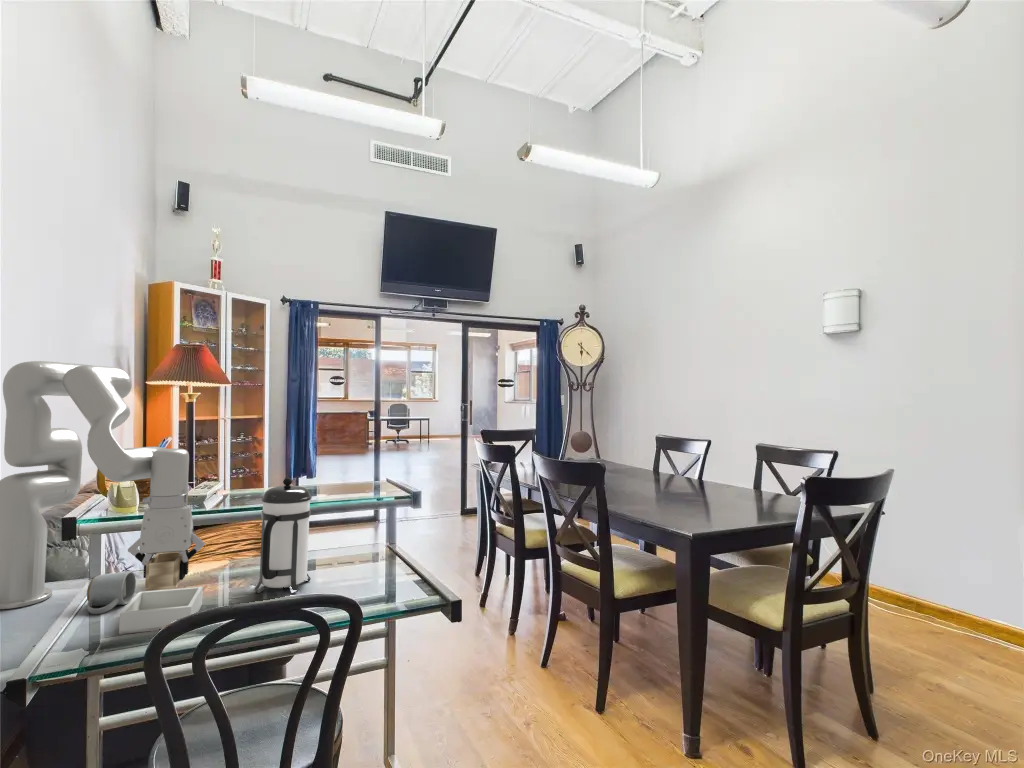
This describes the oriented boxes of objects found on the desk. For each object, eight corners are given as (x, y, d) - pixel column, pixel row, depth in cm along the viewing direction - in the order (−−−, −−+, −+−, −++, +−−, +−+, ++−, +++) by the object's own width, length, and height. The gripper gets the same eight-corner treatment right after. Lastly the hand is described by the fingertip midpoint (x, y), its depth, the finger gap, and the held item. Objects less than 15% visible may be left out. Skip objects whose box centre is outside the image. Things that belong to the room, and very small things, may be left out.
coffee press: (242, 585, 149) (247, 476, 150) (300, 574, 160) (304, 472, 161) (261, 604, 136) (266, 485, 137) (323, 591, 146) (328, 480, 147)
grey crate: (118, 634, 117) (119, 613, 118) (138, 610, 130) (138, 591, 130) (190, 626, 122) (191, 606, 122) (202, 605, 135) (202, 586, 135)
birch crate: (145, 590, 121) (146, 563, 121) (156, 578, 130) (157, 553, 130) (175, 588, 123) (176, 561, 123) (184, 576, 132) (185, 551, 132)
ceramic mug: (99, 599, 137) (100, 568, 137) (136, 597, 139) (137, 567, 139) (76, 616, 126) (77, 583, 127) (116, 614, 128) (117, 581, 128)
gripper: (119, 506, 120) (116, 588, 120) (207, 503, 126) (204, 581, 126) (130, 500, 128) (127, 578, 127) (213, 497, 133) (210, 571, 133)
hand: (166, 578), depth 126 cm, fingers closed on birch crate, 6 cm apart
